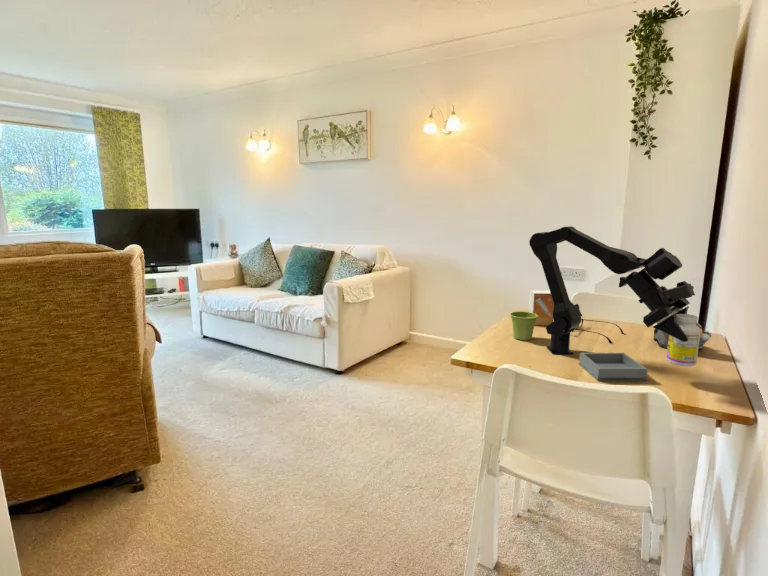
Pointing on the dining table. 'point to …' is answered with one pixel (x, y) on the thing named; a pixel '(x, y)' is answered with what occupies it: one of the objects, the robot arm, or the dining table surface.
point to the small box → (541, 306)
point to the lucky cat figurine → (664, 337)
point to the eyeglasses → (599, 333)
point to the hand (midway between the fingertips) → (690, 338)
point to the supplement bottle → (681, 350)
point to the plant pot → (523, 324)
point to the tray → (612, 367)
